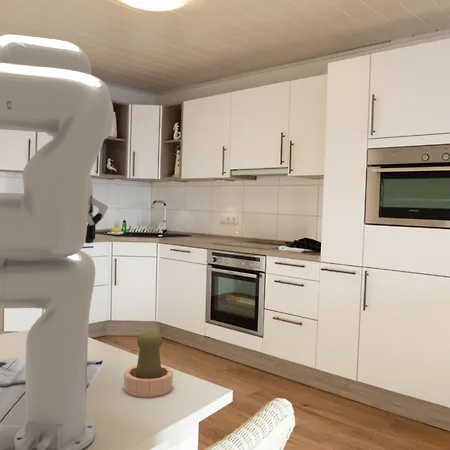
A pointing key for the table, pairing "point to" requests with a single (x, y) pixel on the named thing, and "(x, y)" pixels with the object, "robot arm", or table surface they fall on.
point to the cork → (149, 356)
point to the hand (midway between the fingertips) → (68, 241)
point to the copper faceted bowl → (148, 383)
